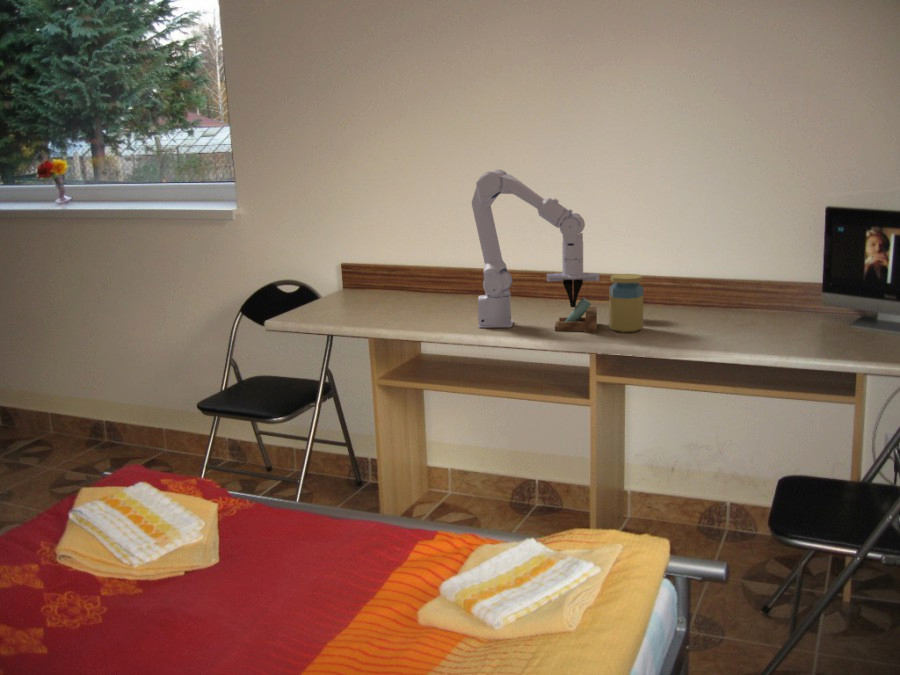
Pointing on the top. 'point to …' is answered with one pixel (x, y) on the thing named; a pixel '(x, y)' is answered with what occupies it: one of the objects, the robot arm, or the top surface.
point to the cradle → (580, 322)
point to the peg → (579, 311)
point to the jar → (626, 303)
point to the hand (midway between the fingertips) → (573, 306)
